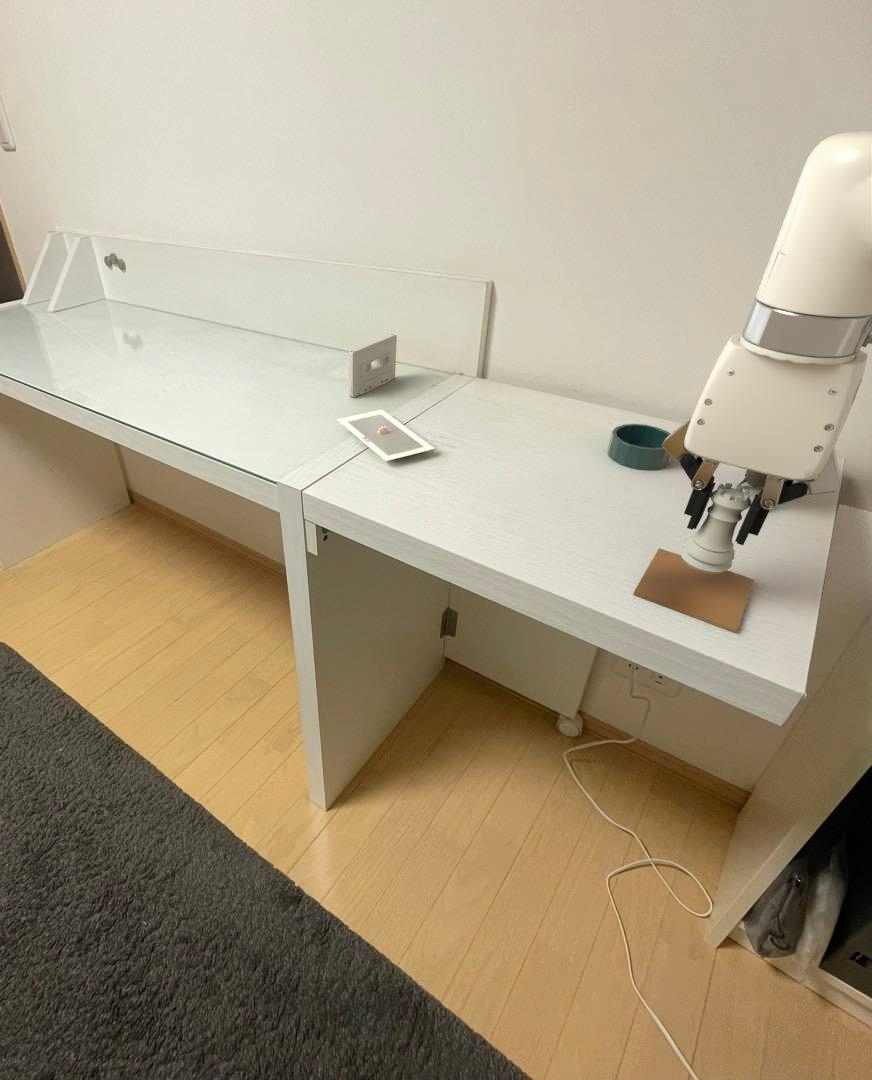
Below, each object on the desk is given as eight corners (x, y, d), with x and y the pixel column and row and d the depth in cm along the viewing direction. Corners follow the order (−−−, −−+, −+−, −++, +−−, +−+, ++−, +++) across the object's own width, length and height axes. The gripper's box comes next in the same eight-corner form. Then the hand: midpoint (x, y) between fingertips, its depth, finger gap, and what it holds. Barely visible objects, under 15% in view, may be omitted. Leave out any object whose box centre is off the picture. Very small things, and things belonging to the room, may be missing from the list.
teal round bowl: (676, 453, 84) (682, 433, 82) (660, 476, 79) (667, 455, 77) (617, 438, 88) (622, 419, 86) (599, 459, 83) (604, 439, 81)
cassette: (354, 399, 101) (354, 353, 97) (346, 396, 102) (345, 350, 98) (397, 378, 109) (399, 334, 104) (389, 376, 110) (390, 332, 105)
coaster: (753, 582, 61) (754, 579, 61) (735, 633, 55) (737, 630, 55) (658, 550, 66) (659, 547, 65) (632, 594, 60) (634, 591, 60)
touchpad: (381, 416, 96) (382, 403, 94) (434, 455, 84) (435, 441, 83) (336, 426, 93) (336, 412, 92) (385, 468, 82) (385, 453, 81)
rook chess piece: (699, 543, 61) (728, 473, 56) (740, 567, 58) (775, 495, 53) (667, 555, 59) (695, 484, 55) (708, 581, 56) (741, 508, 52)
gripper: (944, 335, 44) (828, 541, 55) (695, 301, 52) (636, 486, 63) (947, 365, 39) (819, 585, 50) (672, 323, 48) (613, 518, 58)
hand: (718, 528), depth 56 cm, fingers closed on rook chess piece, 3 cm apart
